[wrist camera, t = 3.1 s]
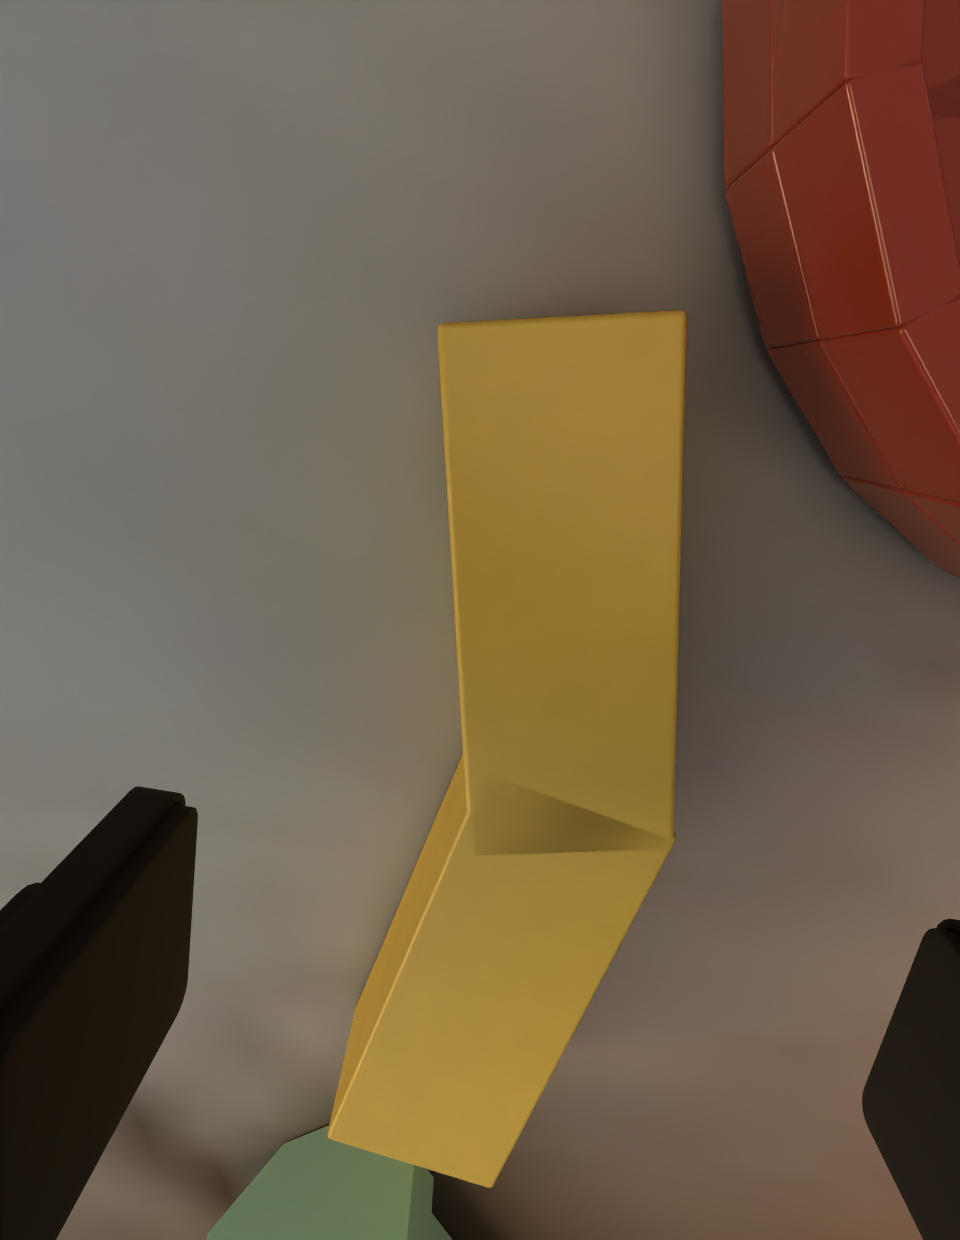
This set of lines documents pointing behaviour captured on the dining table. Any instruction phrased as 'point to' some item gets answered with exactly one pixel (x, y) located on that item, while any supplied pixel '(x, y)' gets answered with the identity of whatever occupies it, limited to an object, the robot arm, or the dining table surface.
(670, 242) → the dining table surface
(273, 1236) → the pale green faceted rod
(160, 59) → the dining table surface
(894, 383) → the bowl
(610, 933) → the banana
